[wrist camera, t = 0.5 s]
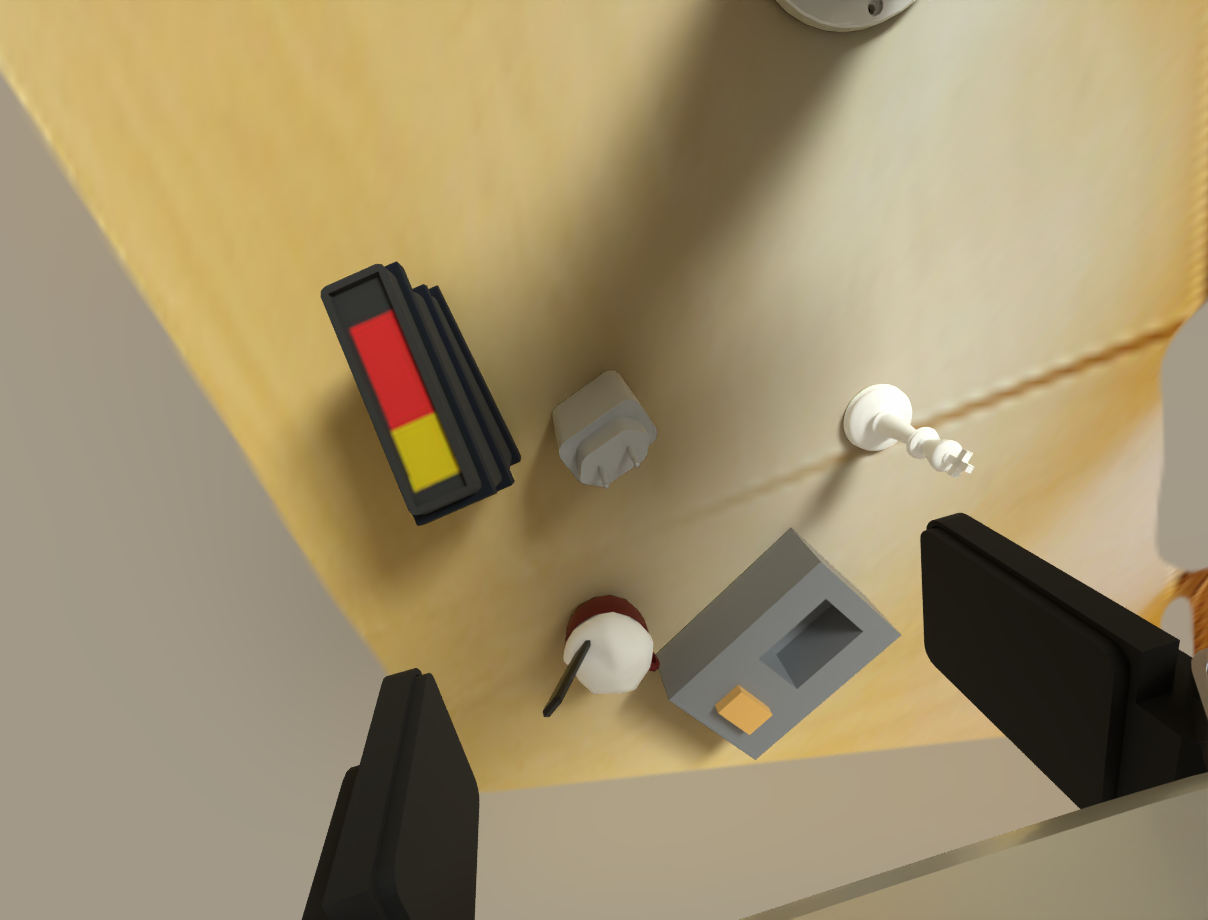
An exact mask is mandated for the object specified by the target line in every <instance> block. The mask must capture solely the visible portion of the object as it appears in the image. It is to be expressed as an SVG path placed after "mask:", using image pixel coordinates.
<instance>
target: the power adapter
mask: <svg viewBox="0 0 1208 920" xmlns="http://www.w3.org/2000/svg"><path fill="white" fill-rule="evenodd" d="M552 418H553V423H554V428H555V434H556V439H557V445H558V450H559V455H560V458H561V460H562V461H563V463H564V464H565V465H566V466H567V468H568V469H569V470H570V471H571V473H572V474H573V475H574V476H575V478H576V479H577V480H578V481H579V482H580V483H582V484H585V485H593V486H599V487H603V486H604V488H606V489H607V488H609V484H610V483H612V482H613V481H615V480H616V479H617V478H619V477H620V476H622V475H623V474H625V473H626V472H628V471H629V470H630V469H632V468H633V467H636V468H638V467H639V466H640V464H639V463H641V462H642V461H643V460H644V459H645V458H646V456H647V454H648V447H649V445H651V444H652V443H653V442H654V441H655V439H656V437H657V429H656V427H655V425H654V424H653V422H652V421H651V419H650V418H649V416H648V415H647V413H646V412H645V410H644V409H643V407H642V406H641V404H640V403H639V401H638V400H637V398H636V397H635V395H634V394H633V392H632V391H631V389H630V388H629V387H628V385H627V384H626V382H625V381H624V379H623V378H622V377H621V375H620V374H619V373H618V372H616V371H614V370H608V371H606V372H604V373H602V374H601V375H600V376H598V377H597V378H595V379H594V380H593V381H591V382H590V383H588V384H587V385H586V386H584V387H583V388H581V389H580V390H579V391H577V392H576V393H574V394H573V395H572V396H570V397H569V398H567V399H566V400H565V401H563V402H562V403H560V404H559V405H558V406H556V407H555V409H554V410H553V412H552Z"/></svg>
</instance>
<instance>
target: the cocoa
mask: <svg viewBox="0 0 1208 920" xmlns="http://www.w3.org/2000/svg"><path fill="white" fill-rule="evenodd" d="M653 645H654V644H653V641H652V638H651V635H650V634H649V631H648V629H647V626H646V623H645V620H644V618H643V617H642V615H641V613H640V612H639V611H638V610H637V609H636V608H635V607H634V606H633V605H632V604H630V603H629V602H628V601H627V600H626V599H623V598H619V597H615V596H612V595H607V596H599V597H593V598H592V599H590V600H588V601H586V602H585V603H583V604H581V605H580V606H579V607H578V608H577V610H576V611H575V613H574V614H573V615H572V617H571V619H570V621H569V623H568V627H567V632H566V639H565V651H564V659H563V661H564V662H565V663H566V664H567V665H568V667H567V669H566V670H565V672H564V674H563V676H562V678H561V679H560V681H559V683H558V685H557V687H556V688H555V690H554V692H553V694H552V696H551V697H550V699H549V701H548V703H547V705H546V706H545V708H544V710H543V715H544V717H550V716H551V714H552V713H553V712H554V711H555V710H556V708H557V707H558V706H559V705H560V704H561V702H562V700H563V698H564V697H565V695H566V693H567V691H568V689H569V687H570V685H571V683H572V681H573V679H574V677H575V675H576V677H577V679H578V680H579V681H580V682H581V683H582V684H583V685H584V686H585V687H586V688H587V689H589V690H590V691H591V692H592V693H593V694H623V693H626V692H630V691H633V690H635V689H636V688H637V686H638V685H639V683H640V682H641V680H642V679H643V677H644V676H645V674H646V673H647V671H648V670H650V671H656V670H657V669H658V668H659V666H660V662H659V659H658V658H657V656H656V655H655V654H654V652H653Z"/></svg>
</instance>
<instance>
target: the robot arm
mask: <svg viewBox="0 0 1208 920" xmlns="http://www.w3.org/2000/svg"><path fill="white" fill-rule="evenodd" d="M915 1H916V0H776V2H777V3H778V4H779V5H780V6H781V7H782V8H783V9H784V10H785V11H786V12H787V13H789V14H791V15H792V16H794V17H795V18H797V19H798V20H800V21H801V22H803V23H805V24H807V25H810V26H813V27H816V28H819V29H821V30H825V31H836V32H849V31H856V30H863V29H866V28H869V27H871V26H874V25H876V24H879V23H882V22H884V21H886V20H888V19H889V18H891V17H893V16H895V15H896V14H898V13H900V12H902V11H903V10H904V9H906V8H907V7H908V6H910V5H911V4H912V3H913V2H915ZM868 7H869V8H870V10H871V12H870V13H869V11H868ZM920 542H921V568H922V595H923V621H924V645H925V650H926V653H927V655H928V657H929V659H930V661H931V662H932V663H933V665H934V666H935V667H936V668H937V669H938V670H939V671H940V672H941V673H942V674H943V675H944V676H945V677H946V678H947V679H948V680H950V681H951V682H952V683H953V684H954V685H955V686H956V687H957V688H958V689H959V690H960V691H961V692H962V693H963V694H964V695H965V696H966V697H967V698H968V699H969V700H970V701H971V702H972V703H973V704H974V705H975V706H976V707H977V708H978V709H979V710H980V711H981V712H982V713H983V714H984V715H985V716H986V717H987V718H988V719H989V720H990V721H991V722H992V723H993V724H994V725H995V726H996V727H997V728H998V729H999V730H1000V731H1001V732H1002V733H1003V734H1004V735H1005V736H1007V737H1008V738H1009V739H1010V740H1011V741H1012V742H1013V743H1014V744H1015V745H1016V746H1017V747H1018V748H1019V749H1020V750H1021V751H1022V752H1023V753H1024V754H1025V755H1026V756H1027V757H1028V758H1029V759H1030V760H1031V761H1032V762H1033V763H1034V764H1035V765H1036V766H1037V767H1038V768H1039V769H1040V770H1041V771H1042V772H1043V773H1044V774H1045V775H1047V777H1048V778H1049V779H1050V780H1051V781H1052V782H1053V783H1055V785H1056V786H1057V787H1058V788H1060V790H1062V791H1063V792H1064V793H1065V794H1066V795H1067V796H1068V797H1069V798H1070V799H1071V800H1072V801H1073V802H1074V803H1075V804H1076V805H1077V806H1078V807H1079V808H1080V810H1077V811H1074V812H1071V813H1068V814H1065V815H1062V816H1058V817H1055V818H1052V819H1049V820H1046V821H1043V822H1040V823H1036V824H1033V825H1030V826H1027V827H1024V828H1021V829H1018V830H1015V831H1011V832H1009V833H1005V834H1002V835H999V836H996V837H993V838H989V839H986V840H983V841H980V842H977V843H974V844H971V845H968V846H965V847H961V848H958V849H955V850H952V851H949V852H946V853H943V854H940V855H936V856H933V857H930V858H927V859H924V860H921V861H918V862H915V863H912V864H909V865H906V866H902V867H900V868H896V869H893V870H891V871H887V872H884V873H881V874H878V875H875V876H872V877H869V878H866V879H863V880H859V881H856V882H853V883H850V884H847V885H844V886H841V887H838V888H835V889H832V890H829V891H826V892H823V893H820V894H816V895H813V896H810V897H807V898H804V899H802V900H798V901H795V902H792V903H789V904H786V905H783V906H780V907H777V908H774V909H771V910H768V911H765V912H761V913H759V914H755V915H752V916H749V917H746V918H743V919H740V920H1208V648H1206V649H1204V650H1201V651H1199V652H1197V654H1196V655H1195V656H1194V657H1193V658H1192V657H1190V656H1189V655H1187V654H1185V653H1184V652H1182V651H1180V650H1179V643H1180V640H1179V639H1177V638H1175V637H1174V636H1172V635H1170V634H1168V633H1167V632H1165V631H1163V630H1162V629H1160V628H1158V627H1157V626H1155V625H1153V624H1151V623H1150V622H1148V621H1146V620H1145V619H1143V618H1141V617H1140V616H1138V615H1136V614H1135V613H1133V612H1131V611H1129V610H1128V609H1126V608H1124V607H1123V606H1121V605H1119V604H1118V603H1116V602H1114V601H1112V600H1111V599H1109V598H1107V597H1106V596H1104V595H1102V594H1101V593H1099V592H1097V591H1095V590H1094V589H1092V588H1090V587H1089V586H1087V585H1085V584H1084V583H1082V582H1080V581H1078V580H1077V579H1075V578H1073V577H1072V576H1070V575H1068V574H1067V573H1065V572H1063V571H1062V570H1060V569H1058V568H1056V567H1055V566H1053V565H1051V564H1050V563H1048V562H1046V561H1045V560H1043V559H1041V558H1039V557H1038V556H1036V555H1034V554H1033V553H1031V552H1029V551H1028V550H1026V549H1024V548H1022V547H1021V546H1019V545H1017V544H1016V543H1014V542H1012V541H1011V540H1009V539H1007V538H1005V537H1004V536H1002V535H1000V534H999V533H997V532H995V531H994V530H992V529H990V528H989V527H987V526H985V525H983V524H982V523H980V522H978V521H977V520H975V519H973V518H972V517H970V516H968V515H966V514H964V513H956V514H953V515H949V516H946V517H942V518H939V519H935V520H932V521H930V522H929V523H928V525H927V529H926V531H923V532H922V534H921V538H920ZM478 822H479V792H478V787H477V783H476V780H475V777H474V775H473V772H472V770H471V767H470V765H469V763H468V760H467V758H466V755H465V753H464V750H463V748H462V745H461V743H460V741H459V738H458V736H457V733H456V731H455V728H454V726H453V723H452V721H451V718H450V716H449V714H448V711H447V709H446V706H445V704H444V701H443V699H442V696H441V694H440V691H439V689H438V687H437V684H436V682H435V679H434V677H433V675H432V674H431V673H427V674H423V675H422V673H421V671H420V670H419V669H418V668H414V669H411V670H407V671H404V672H400V673H397V674H393V675H390V676H386V677H385V678H384V679H383V682H382V685H381V689H380V692H379V696H378V700H377V704H376V707H375V711H374V714H373V718H372V722H371V725H370V729H369V733H368V736H367V740H366V744H365V748H364V751H363V755H362V758H361V762H360V765H358V766H355V767H351V768H350V769H349V770H348V771H347V772H346V774H345V777H344V779H343V783H342V785H341V789H340V792H339V795H338V799H337V802H336V806H335V809H334V812H333V816H332V819H331V822H330V826H329V829H328V833H327V836H326V839H325V843H324V846H323V850H322V853H321V856H320V860H319V863H318V867H317V870H316V873H315V877H314V880H313V883H312V887H311V890H310V893H309V897H308V900H307V904H306V907H305V911H304V914H303V917H302V920H475V897H476V896H475V895H476V873H477V849H478V824H479V823H478Z"/></svg>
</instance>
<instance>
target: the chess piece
mask: <svg viewBox="0 0 1208 920" xmlns="http://www.w3.org/2000/svg"><path fill="white" fill-rule="evenodd" d="M911 419H912V407H911V403H910V401H909V399H908V397H907V396H906V395H905V394H904V393H903V392H902V391H900V390H899V389H898V388H896V387H894V386H892V385H888V384H877V385H873V386H870V387H868V388H866V389H864V390H862V391H861V392H860V393H858V394H857V395H856V396H855V397H854V398H853V400H852V401H851V402H850V404H849V405H848V407H847V410H846V412H845V415H844V431H845V434H846V436H847V438H848V439H849V441H850V442H851V443H852V444H854V445H855V446H857V447H859V448H862V449H865V450H869V451H879V450H883V449H886V448H888V447H890V446H892V445H894V444H895V443H897V442H898V441H900V442H903V443H906V444H907V446H906V447H907V452H908V453H909V455H910V456H912V457H913V458H918V459H924V458H927V459H928V461H929V463H930V465H931V466H932V467H933V468H934V469H935V470H937V471H940V472H945V471H948V472H947V474H948V475H950V476H952V477H954V478H958V477H959V475H960V473H961V472H962V470H964V471H966V472H968V473H971V472H972V470H973V469H974V466H972V465H970V464H968V463H967V462H968V461H969V459H970V458H971V456H972V455H973V453H971V452H969V451H967V450H965V449H963V448H962V447H961V446H960V444H959V443H957V442H956V441H953V440H939V436H938V434H937V432H936V431H935V430H934V429H932V428H930V427H922V428H919V429H917V430H916V429H914V428H913V427H912V426H911V425H910V423H911Z"/></svg>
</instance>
